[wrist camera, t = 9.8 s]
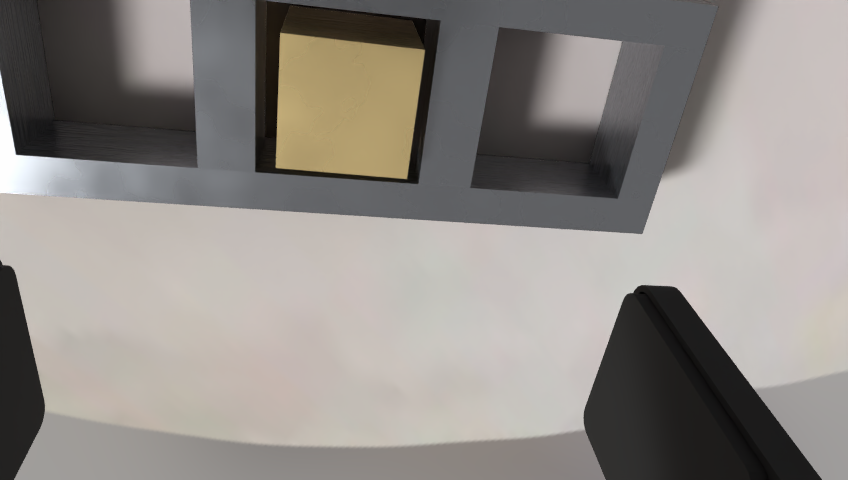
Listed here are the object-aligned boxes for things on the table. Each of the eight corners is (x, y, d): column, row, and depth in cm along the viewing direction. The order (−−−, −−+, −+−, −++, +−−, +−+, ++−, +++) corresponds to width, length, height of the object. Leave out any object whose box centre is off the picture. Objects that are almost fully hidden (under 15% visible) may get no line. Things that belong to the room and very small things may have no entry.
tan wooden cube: (290, 4, 24) (280, 32, 20) (412, 20, 25) (425, 49, 21) (285, 122, 27) (275, 167, 23) (397, 133, 27) (406, 179, 23)
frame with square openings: (-28, -101, 21) (-89, -95, 18) (674, -11, 25) (718, 6, 22) (19, 152, 26) (-23, 191, 23) (612, 196, 30) (642, 233, 27)
